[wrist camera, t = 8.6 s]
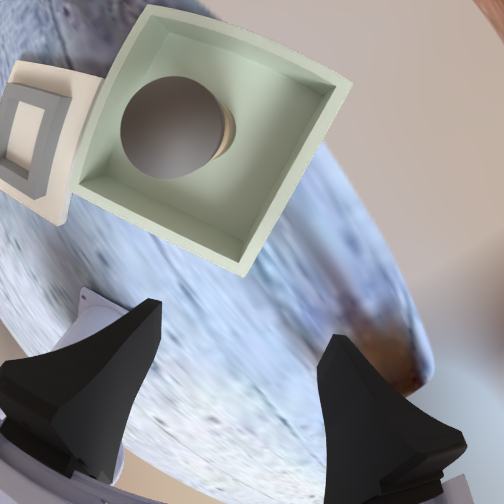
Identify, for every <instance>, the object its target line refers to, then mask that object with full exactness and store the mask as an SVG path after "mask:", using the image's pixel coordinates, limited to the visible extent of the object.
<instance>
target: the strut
mask: <svg viewBox="0 0 504 504" xmlns="http://www.w3.org/2000/svg"><path fill="white" fill-rule="evenodd" d="M235 136H236V122H235V119H234V116H233V114H232V113H231V111H230V110H229V109H228V108H227V107H226V106H225V105H223V104H222V103H221V102H220V101H218V100H217V98H216V97H215V96H214V95H213V94H212V93H211V92H210V91H209V90H208V89H207V88H205V87H204V86H203V85H201V84H200V83H198V82H197V81H194V80H192V79H190V78H186V77H181V76H168V77H163V78H159V79H156V80H154V81H151V82H150V83H148V84H146V85H145V86H143V87H142V88H141V89H140V90H138V91H137V92H136V93H135V94H134V96H133V97H132V98H131V99H130V101H129V103H128V104H127V106H126V108H125V110H124V113H123V116H122V120H121V126H120V137H121V143H122V147H123V150H124V152H125V154H126V156H127V158H128V159H129V161H130V162H131V163H132V164H133V165H134V166H135V167H136V168H137V169H138V170H139V171H141V172H142V173H144V174H146V175H148V176H151V177H154V178H158V179H174V178H179V177H182V176H185V175H187V174H190V173H192V172H194V171H195V170H197V169H199V168H201V167H202V166H204V165H205V164H206V163H208V162H209V161H211V160H213V159H215V158H218V157H219V156H221V155H223V154H224V153H225V152H226V151H227V150H228V149H229V148H230V147H231V145H232V143H233V141H234V139H235Z"/></svg>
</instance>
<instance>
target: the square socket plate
mask: <svg viewBox="0 0 504 504" xmlns="http://www.w3.org/2000/svg"><path fill="white" fill-rule="evenodd" d="M104 81H105V79H104V78H100V77H97V76H93V75H89V74H85V73H81V72H77V71H73V70H68V69H64V68H59V67H54V66H49V65H44V64H38V63H32V62H26V61H19V60H16V61H15V64H14V67H13V69H12V72H11V74H10V77H9V80H8V82H7V84H6V87H5V90H4V93H3V96H2V99H1V103H0V189H1V190H2V191H4V192H5V193H6V194H8V195H9V196H11V197H12V198H14V199H15V200H17V201H18V202H20V203H21V204H23V205H24V206H26V207H27V208H29V209H30V210H32V211H34V212H35V213H37V214H38V215H40V216H41V217H43V218H45V219H46V220H48V221H49V222H51V223H53V224H54V225H56V226H58V227H59V226H60V225H62V224H64V223H66V221H67V215H68V210H69V205H70V201H71V196H72V192H70V191H68V189H69V185H70V181H71V177H72V173H73V169H74V165H75V161H76V158H77V154H78V151H79V148H80V145H81V141H82V138H83V135H84V132H85V129H86V126H87V124H88V121H89V118H90V115H91V113H92V110H93V108H94V105H95V102H96V100H97V98H98V95H99V93H100V90H101V88H102V86H103V84H104Z"/></svg>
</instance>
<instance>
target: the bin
mask: <svg viewBox="0 0 504 504" xmlns="http://www.w3.org/2000/svg"><path fill="white" fill-rule="evenodd" d="M168 76H181V77H186V78H190V79H192V80H194V81H197V82H198V83H200V84H201V85H203V86H204V87H205V88H207V89H208V90H209V91H210V92H211V93H212V94H213V95H214V96H215V97H216V98H217V100H218V101H220V102H221V103H222V104H223V105H225V106H226V107H227V108H228V109H229V110H230V111H231V113H232V114H233V116H234V119H235V122H236V136H235V139H234V141H233V143H232V145H231V147H230V148H229V149H228V150H227V151H226V152H225V153H224V154H223V155H221V156H219V157H218V158H215V159H213V160H211V161H209V162H208V163H206V164H205V165H204V166H202V167H201V168H199V169H197V170H195V171H194V172H192V173H190V174H187V175H185V176H182V177H179V178H174V179H158V178H154V177H151V176H148V175H146V174H144V173H142V172H141V171H139V170H138V169H137V168H136V167H135V166H134V165H133V164H132V163H131V162H130V161H129V159H128V158H127V156H126V154H125V152H124V150H123V147H122V143H121V137H120V126H121V120H122V116H123V113H124V110H125V108H126V106H127V104H128V103H129V101H130V99H131V98H132V97H133V96H134V94H135V93H136V92H137V91H138V90H140V89H141V88H142V87H143V86H145V85H146V84H148V83H150V82H151V81H154V80H156V79H159V78H163V77H168ZM352 86H353V83H352V82H350V81H349V80H347V79H346V78H344V77H342V76H341V75H339V74H338V73H336V72H334V71H332V70H331V69H329V68H327V67H325V66H324V65H322V64H320V63H318V62H316V61H314V60H313V59H311V58H309V57H307V56H305V55H303V54H301V53H299V52H297V51H295V50H293V49H291V48H288V47H286V46H284V45H282V44H280V43H277V42H275V41H273V40H271V39H268V38H266V37H263V36H261V35H258V34H256V33H253V32H251V31H248V30H245V29H243V28H240V27H237V26H234V25H231V24H228V23H225V22H222V21H219V20H215V19H212V18H209V17H205V16H202V15H198V14H194V13H190V12H186V11H181V10H177V9H172V8H167V7H162V6H156V5H150V4H148V5H147V6H146V8H145V9H144V11H143V12H142V14H141V15H140V17H139V18H138V20H137V21H136V23H135V25H134V26H133V28H132V30H131V31H130V33H129V35H128V36H127V38H126V40H125V42H124V44H123V45H122V47H121V49H120V51H119V53H118V55H117V57H116V59H115V61H114V63H113V65H112V67H111V69H110V71H109V73H108V75H107V77H106V79H105V81H104V84H103V86H102V88H101V90H100V93H99V95H98V98H97V100H96V102H95V105H94V108H93V110H92V113H91V115H90V118H89V121H88V124H87V126H86V129H85V132H84V135H83V138H82V141H81V145H80V148H79V151H78V154H77V158H76V161H75V165H74V169H73V173H72V177H71V181H70V185H69V189H68V191H70V192H72V193H74V194H76V195H78V196H80V197H81V198H83V199H85V200H87V201H89V202H91V203H93V204H95V205H97V206H99V207H101V208H102V209H104V210H106V211H108V212H110V213H112V214H114V215H116V216H118V217H120V218H122V219H124V220H126V221H128V222H130V223H132V224H134V225H136V226H138V227H140V228H142V229H144V230H146V231H148V232H150V233H152V234H154V235H156V236H158V237H160V238H162V239H164V240H166V241H168V242H170V243H172V244H174V245H176V246H178V247H180V248H182V249H184V250H186V251H188V252H190V253H192V254H195V255H197V256H199V257H201V258H203V259H205V260H207V261H209V262H211V263H213V264H215V265H218V266H220V267H222V268H224V269H226V270H228V271H230V272H232V273H235V274H237V275H239V276H241V277H243V278H245V276H246V274H247V273H248V271H249V269H250V267H251V266H252V264H253V262H254V260H255V259H256V257H257V255H258V253H259V252H260V250H261V248H262V246H263V244H264V243H265V241H266V239H267V237H268V236H269V234H270V232H271V230H272V229H273V227H274V225H275V223H276V222H277V220H278V218H279V216H280V214H281V213H282V211H283V209H284V207H285V206H286V204H287V202H288V200H289V199H290V197H291V195H292V193H293V191H294V190H295V188H296V186H297V184H298V183H299V181H300V179H301V177H302V175H303V174H304V172H305V170H306V168H307V167H308V165H309V163H310V161H311V159H312V158H313V156H314V154H315V152H316V150H317V149H318V147H319V145H320V143H321V142H322V140H323V138H324V136H325V134H326V133H327V131H328V129H329V127H330V125H331V123H332V122H333V120H334V118H335V116H336V115H337V113H338V111H339V109H340V107H341V106H342V104H343V102H344V100H345V98H346V97H347V95H348V93H349V91H350V89H351V88H352Z"/></svg>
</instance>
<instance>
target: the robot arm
mask: <svg viewBox="0 0 504 504" xmlns="http://www.w3.org/2000/svg"><path fill="white" fill-rule="evenodd" d="M84 296H85V297H86V298H85V297H84ZM161 320H162V301H158V300H154V299H150V298H148V299H146V300H145V301H143V302H142V303H140V304H139V305H137V306H136V307H135V308H133V309H132V310H130V311H128V310H126V309H124V308H122V307H120V306H118V305H116V304H115V303H113V302H111V301H109V300H107V299H106V298H104V297H102V296H100V295H98V294H97V293H95V292H93V291H92V290H90V289H88V288H86V287H83V288H82V289H81V290H80V297H79V306H78V317H77V319H76V321H75V322H74V323H73V324H72V325H71V327H70V328H69V329H68V330H67V332H66V333H65V334H64V335H63V336H62V338H61V339H60V340H59V341H58V343H57V344H56V345H55V347H54V348H53V349H52V350H51V352H49V353H45V354H42V355H38V356H33V357H29V358H23V359H16V360H8V361H5V362H4V363H3V364H2V366H1V367H0V504H105V503H107V504H166V503H162V502H159V501H155V500H151V499H148V498H144V497H141V496H138V495H135V494H132V493H129V492H126V491H123V490H121V489H118V488H115V487H113V485H114V484H115V483H116V482H117V480H118V478H119V476H120V474H121V472H122V469H123V465H124V447H123V444H122V442H121V441H122V437H123V433H124V430H125V426H126V423H127V420H128V417H129V414H130V410H131V407H132V405H133V402H134V400H135V397H136V395H137V393H138V391H139V389H140V387H141V385H142V383H143V381H144V379H145V376H146V374H147V372H148V370H149V368H150V366H151V364H152V362H153V360H154V358H155V355H156V352H157V349H158V346H159V343H160V340H161ZM317 383H318V391H319V397H320V403H321V408H322V414H323V419H324V425H325V432H326V447H327V471H326V487H325V496H324V504H474V503H473V499H472V496H471V493H470V490H469V487H468V483H467V480H466V478H465V475H464V474H462V475H460V476H457V477H455V478H452V479H450V480H448V481H446V482H444V483H442V484H441V481H440V479H441V478H443V476H444V474H443V471H442V470H443V469H444V468H446V467H447V466H448V465H450V464H451V463H453V462H454V461H455V460H456V459H458V458H459V457H460V456H461V455H462V454H463V453H464V452H465V450H466V449H467V444H466V441H465V439H464V437H463V434H462V432H461V431H459V430H457V429H455V428H453V427H450V426H448V425H446V424H444V423H442V422H440V421H438V420H436V419H434V418H433V417H431V416H429V415H428V414H426V413H425V412H423V411H422V410H420V409H419V408H417V407H416V406H415V405H413V404H412V403H411V402H409V401H408V400H407V399H406V398H404V397H403V396H402V395H401V394H400V393H399V392H397V391H396V390H395V389H394V388H393V387H392V386H391V385H390V384H389V383H388V382H387V381H386V380H385V379H384V378H383V377H382V376H381V375H380V374H379V373H378V372H377V370H376V369H375V368H374V367H373V366H372V365H371V364H370V363H369V361H368V360H367V359H366V358H365V357H364V356H363V354H362V353H361V352H360V351H359V350H358V348H357V347H356V346H355V345H354V344H353V343H352V342H351V340H350V339H349V338H348V337H347V336H345V335H337V334H333V335H332V338H331V340H330V342H329V344H328V346H327V348H326V350H325V352H324V354H323V356H322V358H321V360H320V362H319V364H318V366H317Z"/></svg>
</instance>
